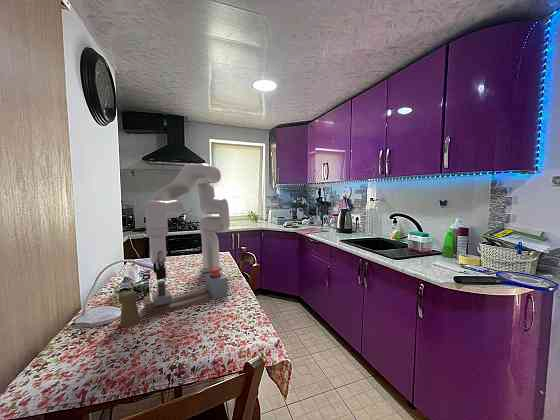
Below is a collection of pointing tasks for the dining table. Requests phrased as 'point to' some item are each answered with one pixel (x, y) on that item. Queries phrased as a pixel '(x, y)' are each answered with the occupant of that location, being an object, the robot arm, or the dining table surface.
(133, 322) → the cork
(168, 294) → the carriage
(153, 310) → the board
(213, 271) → the button
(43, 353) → the dining table surface
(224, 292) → the end cabinet
